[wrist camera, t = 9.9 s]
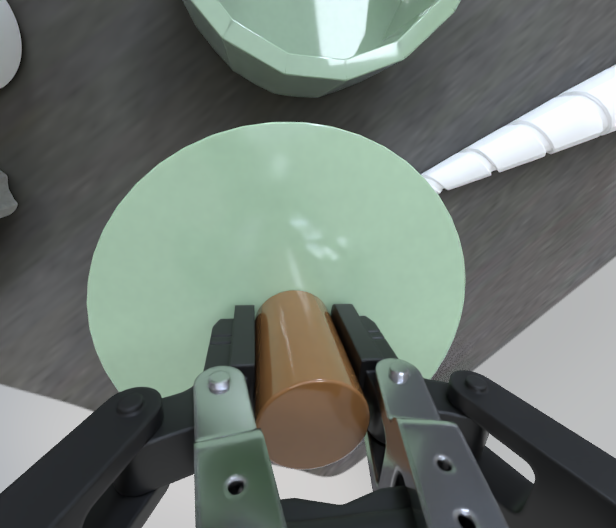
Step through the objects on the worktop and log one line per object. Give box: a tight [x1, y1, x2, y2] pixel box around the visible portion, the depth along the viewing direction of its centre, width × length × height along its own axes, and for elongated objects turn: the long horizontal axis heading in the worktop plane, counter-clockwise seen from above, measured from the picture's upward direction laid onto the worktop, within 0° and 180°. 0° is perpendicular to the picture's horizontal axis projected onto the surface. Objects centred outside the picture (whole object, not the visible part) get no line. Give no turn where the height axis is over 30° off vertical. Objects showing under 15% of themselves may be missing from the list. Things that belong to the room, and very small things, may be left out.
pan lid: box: [87, 122, 465, 469], centre depth 11 cm, size 15×15×6 cm
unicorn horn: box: [421, 64, 616, 194], centre depth 21 cm, size 5×24×5 cm, turn 111°
